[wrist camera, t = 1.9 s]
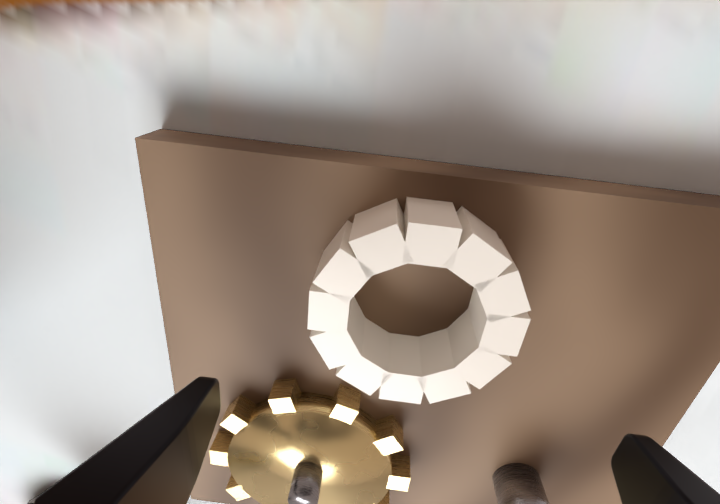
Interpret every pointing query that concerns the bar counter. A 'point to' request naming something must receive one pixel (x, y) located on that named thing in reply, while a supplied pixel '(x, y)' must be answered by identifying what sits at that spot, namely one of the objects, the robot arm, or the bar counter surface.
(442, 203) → the ring gear
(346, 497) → the brass drive gear
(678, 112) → the bar counter surface
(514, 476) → the steel peg
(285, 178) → the gear board
